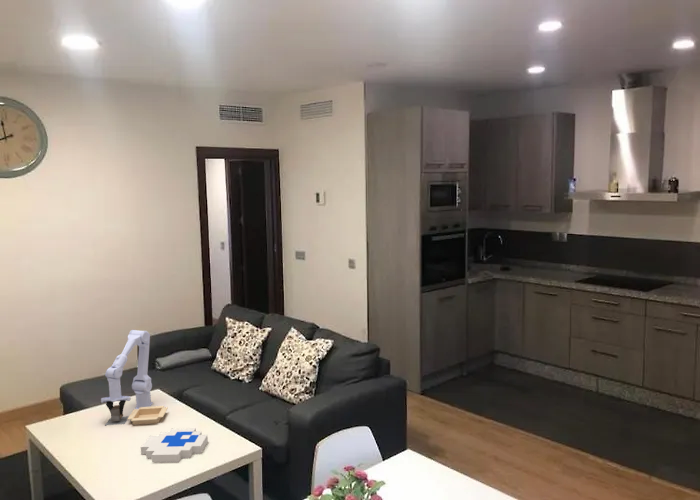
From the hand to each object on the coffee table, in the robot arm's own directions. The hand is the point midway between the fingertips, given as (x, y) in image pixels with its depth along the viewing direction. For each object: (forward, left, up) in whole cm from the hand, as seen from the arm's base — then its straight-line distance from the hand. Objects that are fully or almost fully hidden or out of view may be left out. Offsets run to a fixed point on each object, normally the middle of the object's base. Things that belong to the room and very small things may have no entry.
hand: (117, 414), depth 310 cm
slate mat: (0, 0, -4) cm, 4 cm away
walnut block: (0, 0, -2) cm, 2 cm away
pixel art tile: (+37, +37, -4) cm, 52 cm away
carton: (0, +16, -4) cm, 16 cm away
